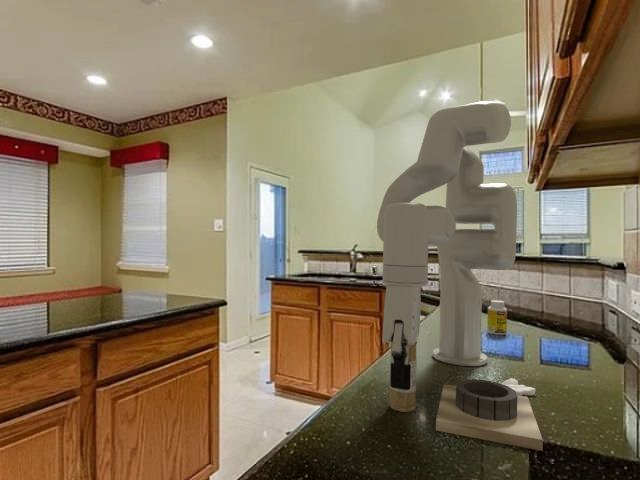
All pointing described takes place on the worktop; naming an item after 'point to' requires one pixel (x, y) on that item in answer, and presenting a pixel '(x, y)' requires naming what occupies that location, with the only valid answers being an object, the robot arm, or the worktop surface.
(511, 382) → the acanthus leaf ornament
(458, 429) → the socket board
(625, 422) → the worktop surface
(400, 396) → the sprinkles bottle
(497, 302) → the supplement bottle
